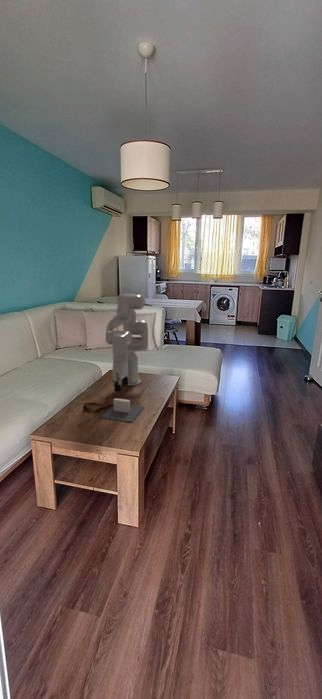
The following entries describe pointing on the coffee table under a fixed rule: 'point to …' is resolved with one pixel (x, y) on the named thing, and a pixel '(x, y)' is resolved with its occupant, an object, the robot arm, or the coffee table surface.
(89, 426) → the coffee table surface
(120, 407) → the block
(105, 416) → the mat
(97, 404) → the sunglasses case
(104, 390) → the coffee table surface
